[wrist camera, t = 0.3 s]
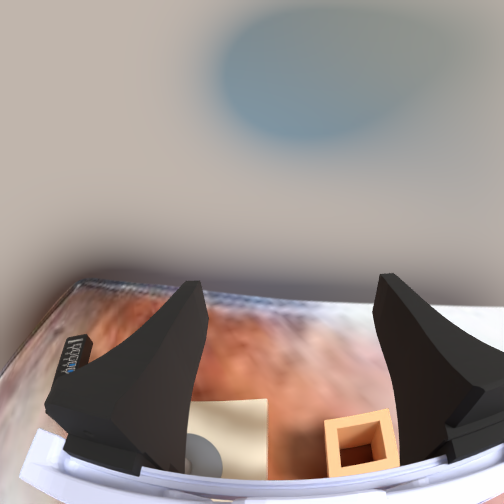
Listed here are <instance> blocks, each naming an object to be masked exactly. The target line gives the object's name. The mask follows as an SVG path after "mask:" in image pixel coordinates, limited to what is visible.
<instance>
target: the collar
mask: <svg viewBox="0 0 504 504" xmlns="http://www.w3.org/2000/svg"><path fill="white" fill-rule="evenodd" d="M324 430H325V451H326V464H327V477H328V478H331V477H341V476H349V475H356V474H363V473H369V472H375V471H381V470H386V469H391V468H396V467H400V461H399V456H398V451H397V446H396V441H395V436H394V431H393V426H392V422H391V417H390V413H389V408H388V409H383V410H379V411H374V412H369V413H364V414H359V415H354V416H349V417H343V418H337V419H330V420H324ZM367 444H371V449H372V455H373V462H369V463H364V464H359V465H354V466H348V467H342V468H341V461H340V452H339V450H340V449H346V448H351V447H357V446H362V445H367Z"/></svg>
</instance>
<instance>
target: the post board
mask: <svg viewBox="0 0 504 504" xmlns="http://www.w3.org/2000/svg"><path fill="white" fill-rule="evenodd" d="M185 474H187V475H195V476H203V477H212V478H224V479H238V480H268V401H267V399H255V400H239V401H209V402H191V403H190V411H189V419H188V428H187V440H186V454H185ZM211 500H212V501H217V502H233V501H230V500H219V499H211Z"/></svg>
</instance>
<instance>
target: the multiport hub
mask: <svg viewBox="0 0 504 504" xmlns="http://www.w3.org/2000/svg"><path fill="white" fill-rule="evenodd" d="M92 345H93V342H92V341H91V339H90V338H89V337H88V335H87V334H83V335H78V336H73V337H68V338H67V339H66V342H65V345H64V348H63V351H62V354H61V357H60V360H59V364H58V367H57V370H56V373H55V377H54V380H53V384H52V387H53V385H54V383H55V381H56V379H57V378H58V377H60V376H63V375H65V374H67V373H70V372H72V371H74V370H76V369H79V368H81V367H83V366H85V365H87V364H88V361H89V357H90V353H91V349H92ZM52 387H51V389H52ZM45 412H46V414H48V412H47V411H45ZM48 415H49V414H48ZM49 416H50V415H49ZM50 417H51V416H50ZM51 418H52V417H51ZM52 419H53V418H52Z"/></svg>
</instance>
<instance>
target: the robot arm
mask: <svg viewBox="0 0 504 504" xmlns="http://www.w3.org/2000/svg"><path fill="white" fill-rule="evenodd" d="M372 314H373V319H374V324H375V329H376V333H377V336H378V339H379V342H380V346H381V349H382V352H383V355H384V358H385V361H386V364H387V367H388V370H389V373H390V377H391V381H392V385H393V390H394V396H395V402H396V410H397V418H398V429H399V445H400V467H396V468H391V469H386V470H381V471H375V472H369V473H363V474H356V475H349V476H341V477H331V478H320V479H305V480H238V479H224V478H212V477H203V476H195V475H187V474H185V454H186V440H187V428H188V419H189V411H190V403H191V396H192V390H193V386H194V382H195V378H196V374H197V371H198V367H199V363H200V360H201V356H202V352H203V349H204V345H205V341H206V335H207V328H208V320H209V317H208V313H207V308H206V304H205V300H204V295H203V291H202V286H201V282H200V281H186V282H185V283H183V285H182V286H181V287H180V288H179V289H178V290H177V291H176V292H175V293H174V294H173V295H172V296H171V297H170V299H169V300H168V301H167V302H166V303H165V304H164V305H163V306H162V307H161V308H160V309H159V310H158V311H157V312H156V313H155V314H154V315H153V316H152V317H151V318H150V319H149V320H148V321H147V322H146V323H145V324H144V325H143V326H142V327H140V328H139V329H138V330H137V331H136V332H135V333H133V334H132V335H131V336H130V337H128V338H127V339H126V340H125V341H123V342H122V343H121V344H119V345H118V346H116V347H115V348H113V349H112V350H110V351H109V352H107V353H106V354H104V355H103V356H101V357H99V358H97V359H96V360H94V361H92V362H90V363H88V364H87V365H85V366H83V367H81V368H79V369H76V370H74V371H72V372H70V373H67V374H65V375H63V376H60V377H58V378H57V379H56V381H55V383H54V385H53V387H52V389H51V391H50V393H49V395H48V397H47V399H46V401H45V403H44V405H45V409H46V411H47V412H48V414H49V415H50V416H51V417H52V418H53V419H54V420H55V421H56V422H57V423H58V424H59V425H60V426H61V427H62V428H63V429H64V430H65V431H66V432H67V433H68V436H67V439H64V438H63V437H61V436H59V435H56V434H54V433H51V432H49V431H46V430H44V429H41V428H38V430H37V433H36V435H35V437H34V439H33V442H32V444H31V447H30V449H29V451H28V454H27V456H26V459H25V461H24V464H23V467H22V469H21V472H20V474H19V477H20V479H22V480H24V481H25V482H27V483H29V484H30V485H32V486H34V487H35V488H37V489H39V490H41V491H42V492H44V493H46V494H48V495H50V496H51V497H53V498H55V499H57V500H59V501H61V502H64V503H66V504H482V503H484V502H486V501H488V500H490V499H492V498H494V497H496V496H498V495H500V494H502V493H504V352H502V351H500V350H498V349H496V348H494V347H491V346H489V345H487V344H485V343H484V342H482V341H480V340H478V339H476V338H475V337H473V336H471V335H469V334H468V333H466V332H465V331H463V330H462V329H460V328H459V327H457V326H456V325H454V324H453V323H452V322H450V321H449V320H447V319H446V318H445V317H443V316H442V315H441V314H440V313H439V312H437V311H436V310H435V309H434V308H432V307H431V306H430V305H429V304H428V303H427V302H425V301H424V300H423V299H422V298H421V297H420V296H419V295H418V294H416V293H415V292H414V291H413V290H412V289H411V288H410V287H409V286H408V285H407V284H405V283H404V282H403V281H402V280H401V279H400V278H399V277H398V276H396V275H395V274H394V273H389V274H380V276H379V282H378V287H377V292H376V297H375V302H374V306H373V311H372ZM211 499H219V500H230V501H233V502H217V501H212V500H211Z"/></svg>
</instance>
